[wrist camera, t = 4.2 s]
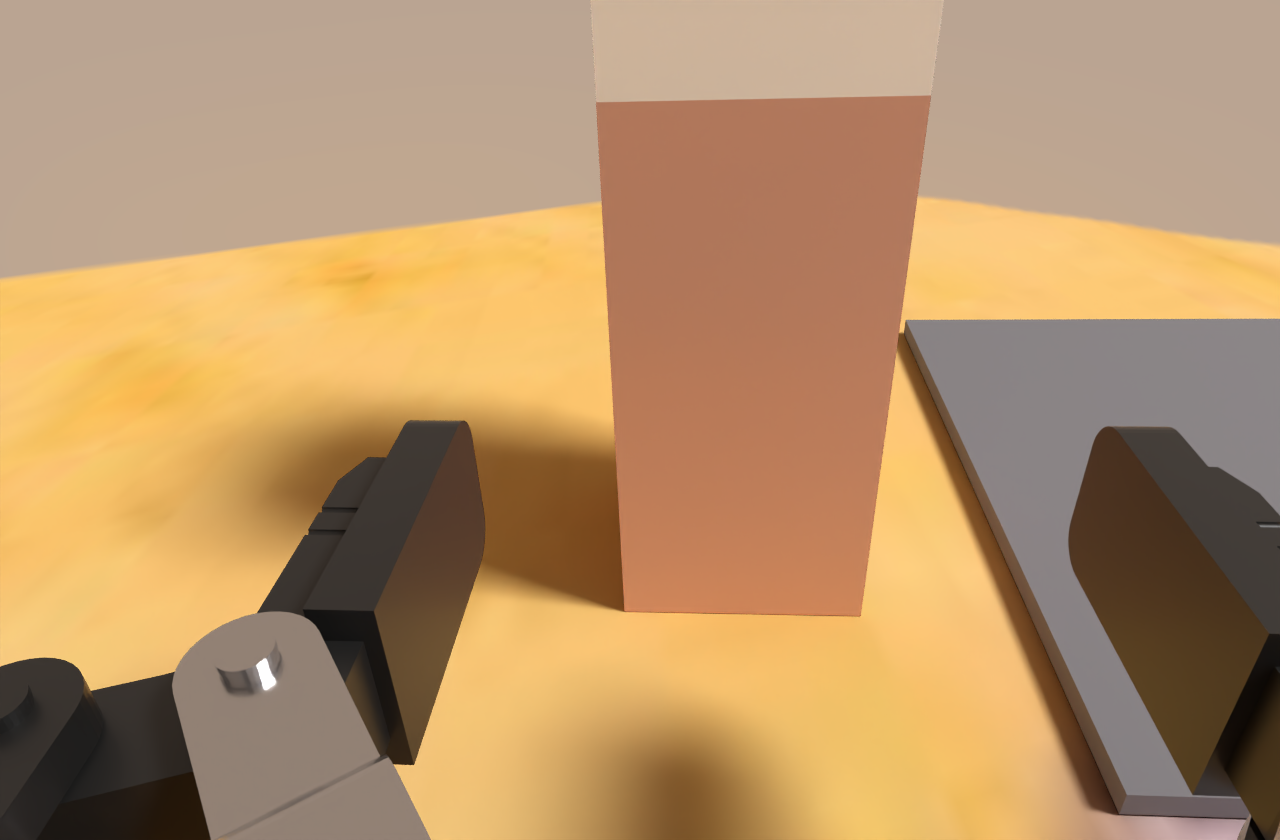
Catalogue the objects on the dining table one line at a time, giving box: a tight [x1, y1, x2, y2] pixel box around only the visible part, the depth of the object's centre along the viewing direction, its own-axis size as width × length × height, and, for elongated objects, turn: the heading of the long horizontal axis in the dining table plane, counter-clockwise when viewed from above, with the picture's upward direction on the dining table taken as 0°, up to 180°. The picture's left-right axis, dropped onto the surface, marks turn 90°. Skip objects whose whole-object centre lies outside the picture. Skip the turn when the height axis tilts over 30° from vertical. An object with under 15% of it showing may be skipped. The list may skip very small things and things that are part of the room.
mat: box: [904, 319, 1280, 818], centre depth 21 cm, size 14×18×1 cm
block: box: [590, 0, 944, 616], centre depth 18 cm, size 5×5×12 cm
